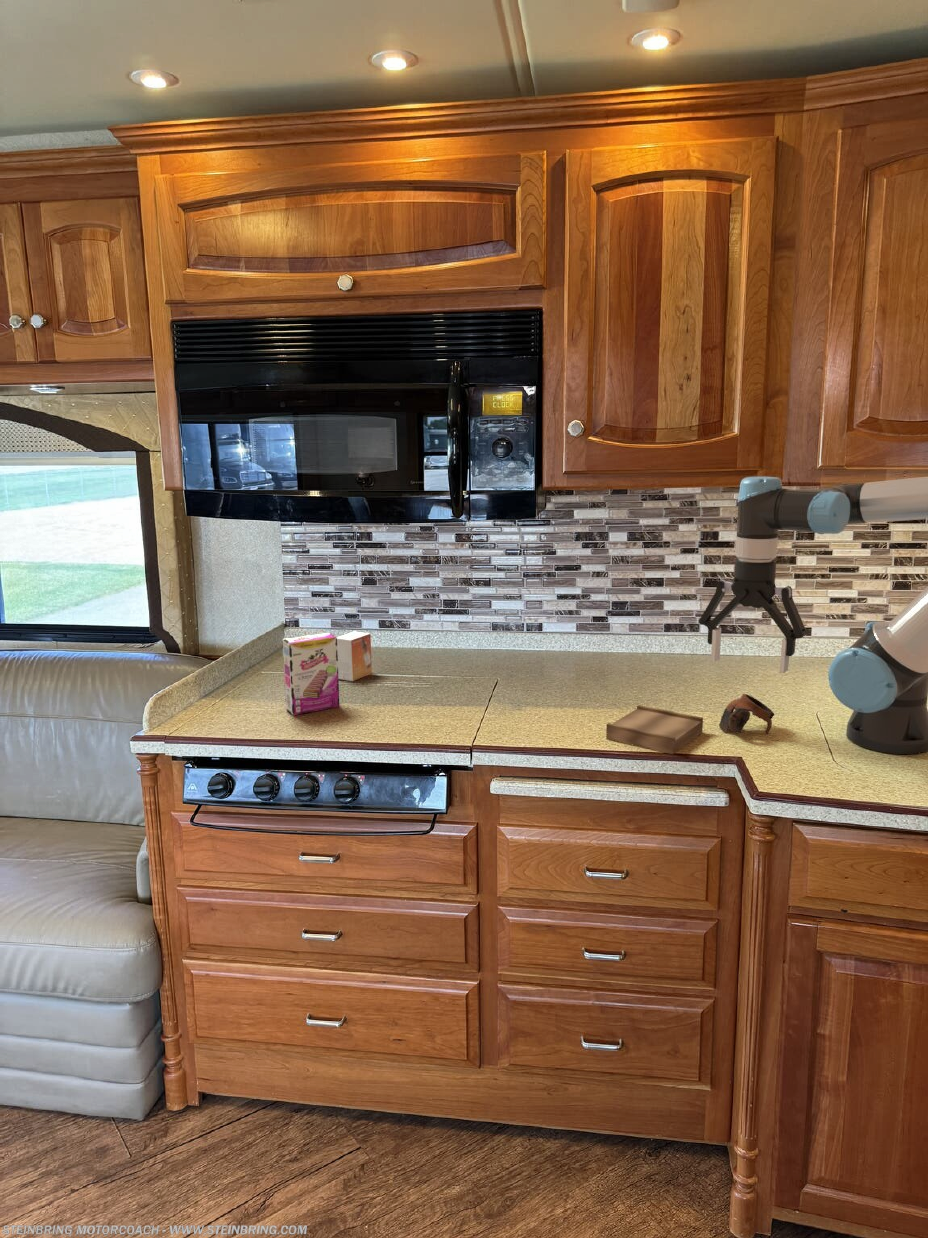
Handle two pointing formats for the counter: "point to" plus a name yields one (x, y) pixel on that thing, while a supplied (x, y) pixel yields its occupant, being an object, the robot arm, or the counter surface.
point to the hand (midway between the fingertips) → (748, 666)
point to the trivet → (655, 729)
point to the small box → (354, 655)
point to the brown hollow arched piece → (744, 714)
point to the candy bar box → (311, 673)
